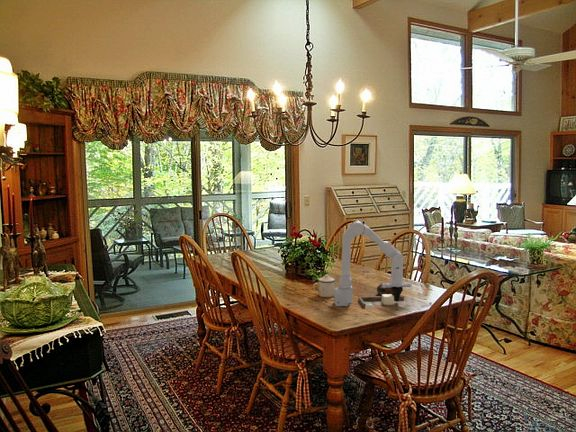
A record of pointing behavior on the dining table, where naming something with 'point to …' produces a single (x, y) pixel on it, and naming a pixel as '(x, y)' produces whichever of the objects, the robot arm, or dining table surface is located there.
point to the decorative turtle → (384, 290)
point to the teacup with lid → (325, 286)
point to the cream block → (387, 299)
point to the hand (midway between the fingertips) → (396, 301)
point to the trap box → (379, 301)
